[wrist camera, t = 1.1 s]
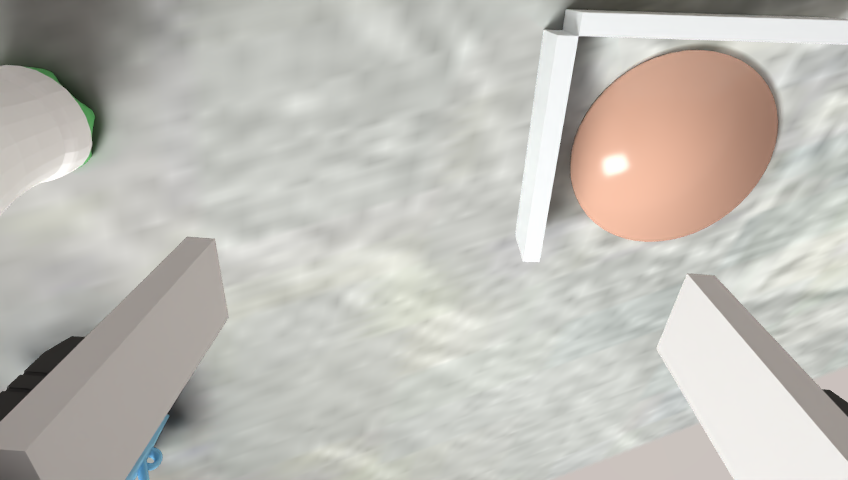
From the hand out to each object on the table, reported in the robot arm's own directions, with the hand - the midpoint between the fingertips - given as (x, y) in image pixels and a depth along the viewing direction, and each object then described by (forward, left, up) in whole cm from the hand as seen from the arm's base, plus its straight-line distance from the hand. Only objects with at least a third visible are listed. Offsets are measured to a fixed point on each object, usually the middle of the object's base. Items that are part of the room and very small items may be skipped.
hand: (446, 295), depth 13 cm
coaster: (+2, +16, -22) cm, 27 cm away
